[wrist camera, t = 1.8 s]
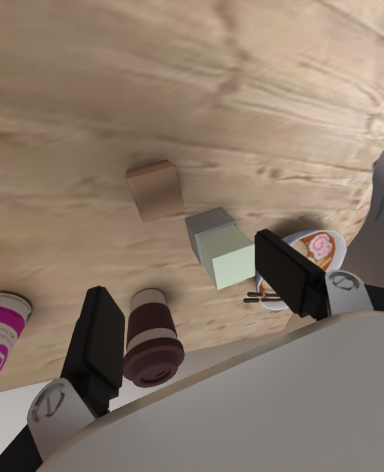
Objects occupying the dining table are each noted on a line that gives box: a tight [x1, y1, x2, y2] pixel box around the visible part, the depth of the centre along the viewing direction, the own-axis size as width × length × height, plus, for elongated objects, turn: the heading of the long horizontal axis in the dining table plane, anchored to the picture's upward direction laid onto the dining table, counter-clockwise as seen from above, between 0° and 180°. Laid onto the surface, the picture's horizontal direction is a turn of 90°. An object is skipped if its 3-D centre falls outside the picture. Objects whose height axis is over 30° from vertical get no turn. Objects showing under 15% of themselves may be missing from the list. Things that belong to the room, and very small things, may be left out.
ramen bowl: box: [243, 230, 347, 311], centre depth 42 cm, size 25×23×8 cm
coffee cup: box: [123, 289, 185, 388], centre depth 34 cm, size 10×10×15 cm
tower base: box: [185, 208, 236, 267], centre depth 32 cm, size 7×7×6 cm
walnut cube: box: [126, 159, 185, 223], centre depth 25 cm, size 6×6×6 cm
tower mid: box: [198, 224, 255, 290], centre depth 28 cm, size 6×6×6 cm
